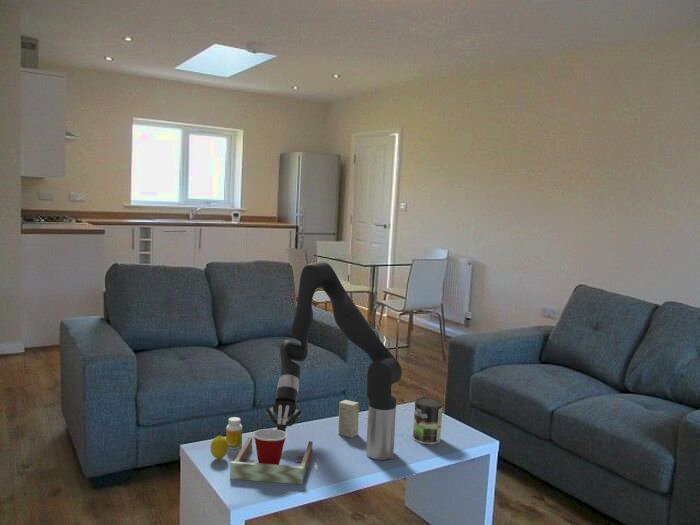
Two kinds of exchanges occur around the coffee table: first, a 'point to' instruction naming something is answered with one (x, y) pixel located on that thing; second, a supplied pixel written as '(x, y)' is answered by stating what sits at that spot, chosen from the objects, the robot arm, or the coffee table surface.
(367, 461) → the coffee table surface
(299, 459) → the pads
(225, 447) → the lemon
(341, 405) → the skincare box
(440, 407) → the coffee can
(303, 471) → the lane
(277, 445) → the plastic cup
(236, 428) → the supplement bottle
